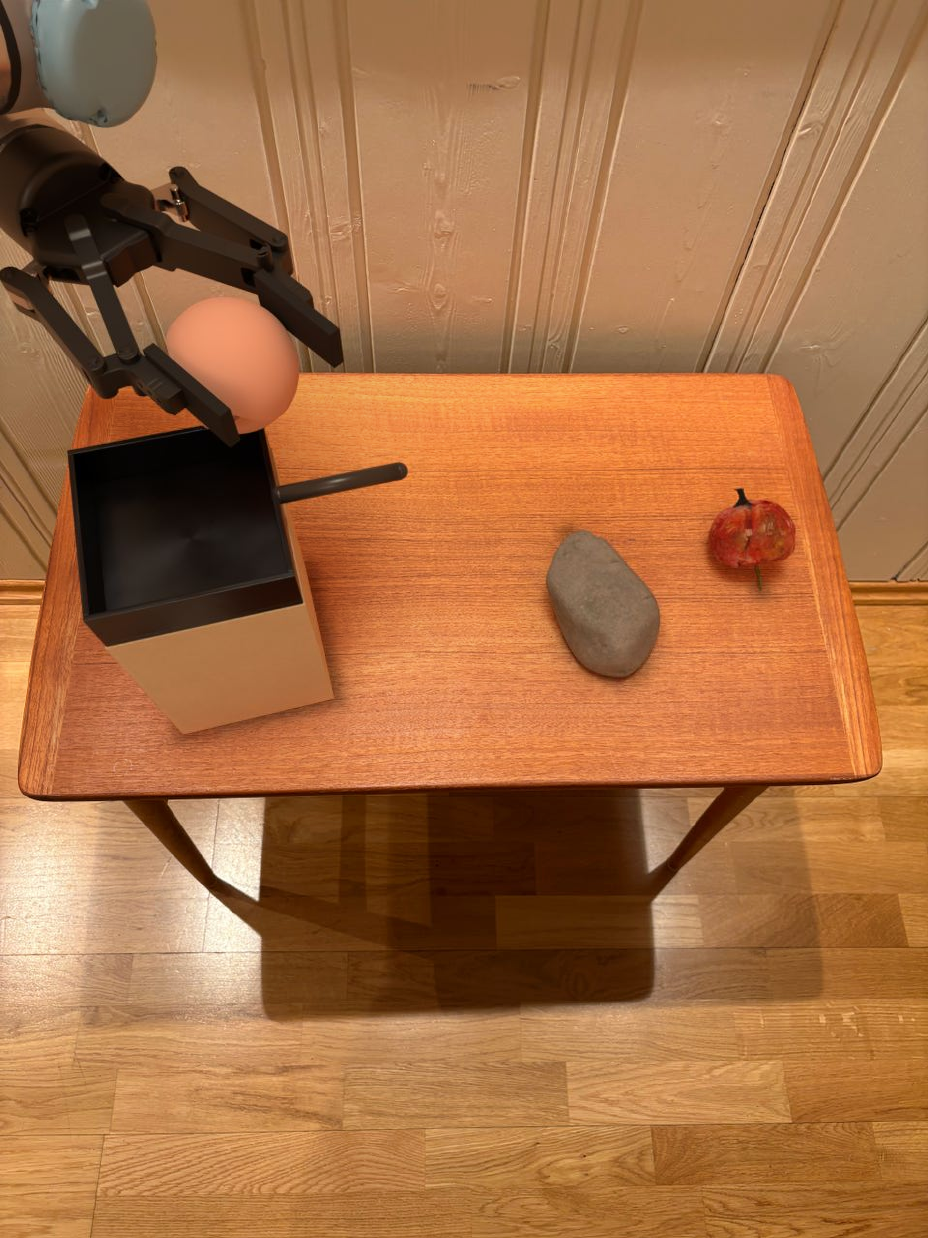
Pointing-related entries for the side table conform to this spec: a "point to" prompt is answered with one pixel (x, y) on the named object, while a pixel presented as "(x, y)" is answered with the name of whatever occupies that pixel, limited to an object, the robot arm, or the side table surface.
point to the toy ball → (238, 358)
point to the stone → (602, 605)
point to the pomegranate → (752, 533)
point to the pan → (187, 530)
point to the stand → (234, 662)
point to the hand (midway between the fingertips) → (284, 387)
